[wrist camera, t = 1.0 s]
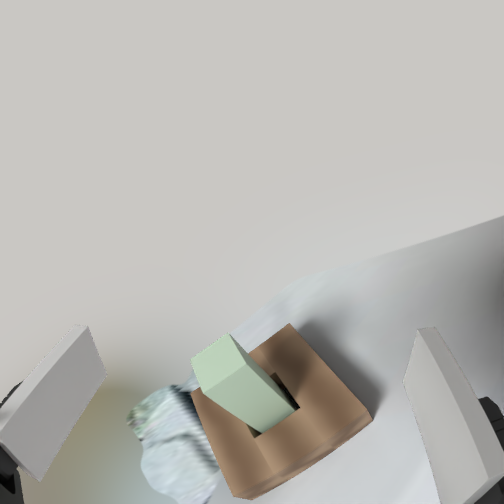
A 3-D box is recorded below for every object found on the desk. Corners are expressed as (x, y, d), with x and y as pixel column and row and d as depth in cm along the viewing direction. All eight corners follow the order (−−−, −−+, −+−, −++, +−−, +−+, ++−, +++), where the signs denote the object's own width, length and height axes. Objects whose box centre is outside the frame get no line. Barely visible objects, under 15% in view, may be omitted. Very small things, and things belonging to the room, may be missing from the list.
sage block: (286, 393, 35) (228, 332, 28) (303, 418, 31) (246, 363, 24) (256, 413, 34) (189, 359, 27) (272, 439, 31) (203, 393, 23)
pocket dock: (300, 339, 40) (289, 323, 38) (372, 420, 27) (367, 409, 25) (207, 405, 39) (190, 393, 37) (251, 500, 25) (233, 496, 23)
